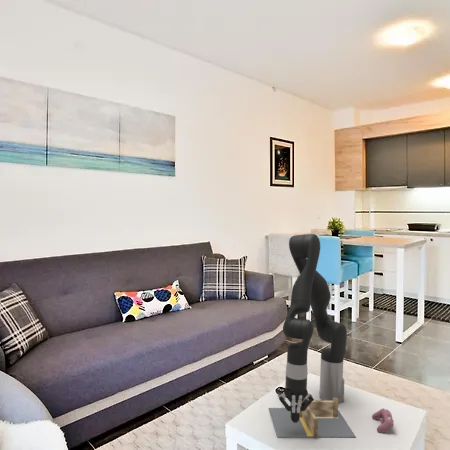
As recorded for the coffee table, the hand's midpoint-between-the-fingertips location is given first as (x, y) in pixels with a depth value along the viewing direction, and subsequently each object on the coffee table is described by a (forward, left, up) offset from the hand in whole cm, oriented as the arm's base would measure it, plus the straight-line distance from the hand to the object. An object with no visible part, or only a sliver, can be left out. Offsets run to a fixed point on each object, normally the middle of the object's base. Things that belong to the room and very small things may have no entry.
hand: (294, 421), depth 129 cm
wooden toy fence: (-12, -10, -4) cm, 16 cm away
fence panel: (-6, -2, -3) cm, 7 cm away
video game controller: (-34, -4, -5) cm, 35 cm away
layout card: (-7, -6, -4) cm, 11 cm away
